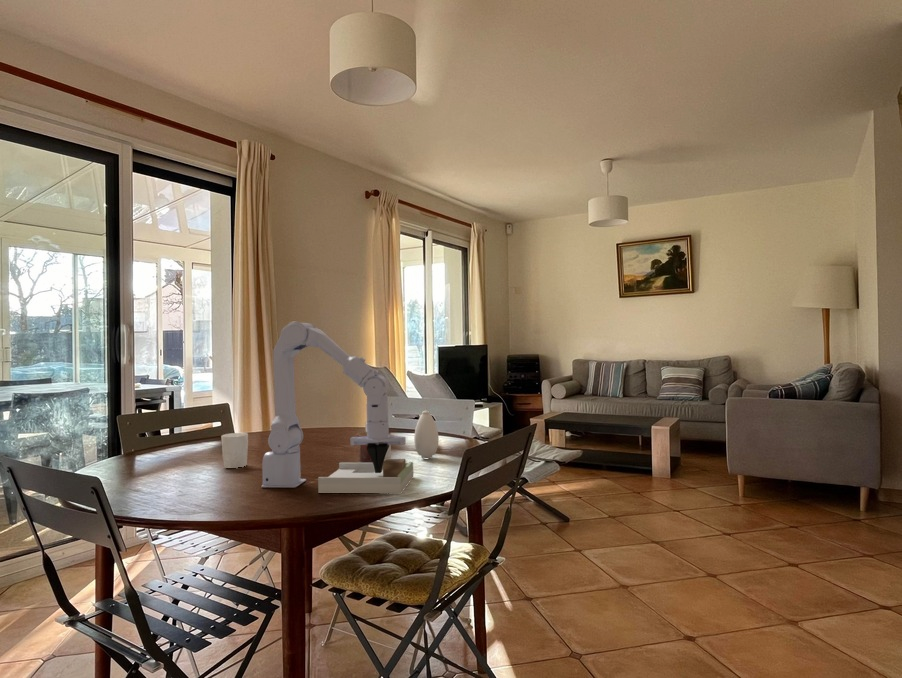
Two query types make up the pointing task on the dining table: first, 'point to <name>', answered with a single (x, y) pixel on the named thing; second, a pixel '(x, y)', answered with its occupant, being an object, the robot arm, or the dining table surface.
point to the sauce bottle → (426, 435)
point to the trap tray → (364, 480)
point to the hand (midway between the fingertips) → (378, 472)
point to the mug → (364, 450)
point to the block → (393, 467)
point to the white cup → (234, 449)
